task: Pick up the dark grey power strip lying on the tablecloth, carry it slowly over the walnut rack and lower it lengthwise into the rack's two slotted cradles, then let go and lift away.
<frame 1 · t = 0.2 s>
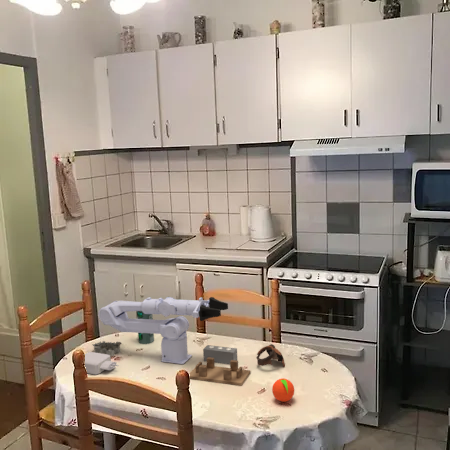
hand: (224, 309, 185), 21 cm above the table, tool horizontal, fingers open, 7 cm apart
charger: (100, 370, 189), on the table
power strip: (220, 361, 192), on the table
can: (146, 341, 214), on the table
brown open ring: (271, 365, 187), on the table
egg carton: (107, 353, 205), on the table
clementine: (284, 401, 161), on the table
rack: (219, 375, 180), on the table
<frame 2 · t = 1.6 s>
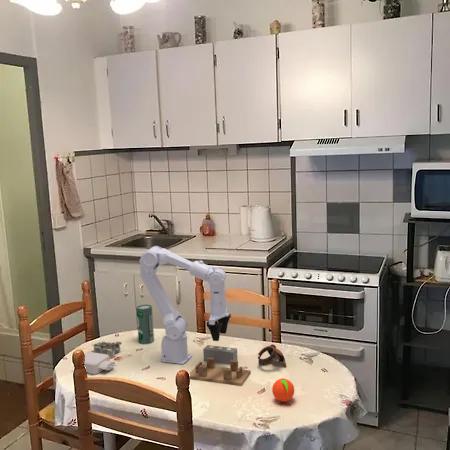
hand: (219, 336, 191), 9 cm above the table, tool pointing down, fingers open, 7 cm apart
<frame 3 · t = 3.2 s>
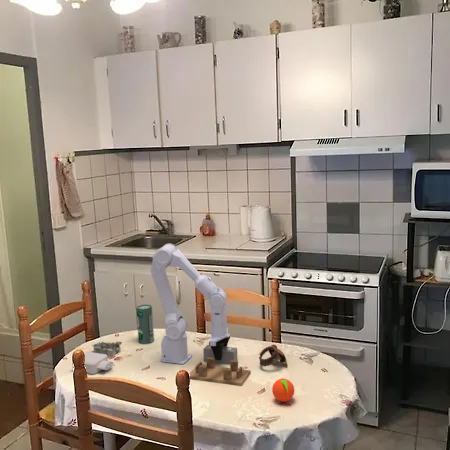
hand: (220, 357, 192), 1 cm above the table, tool pointing down, fingers closed on power strip, 4 cm apart
power strip: (220, 360, 192), on the table, touching gripper
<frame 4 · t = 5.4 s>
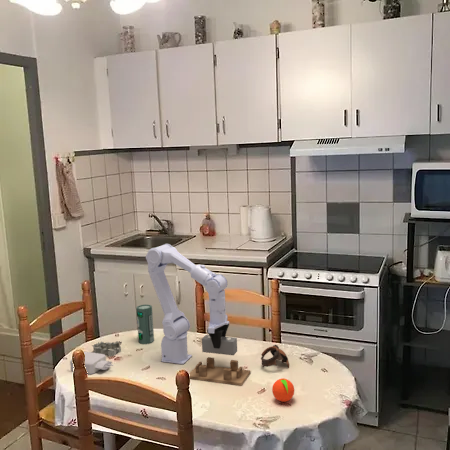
hand: (219, 345, 185), 8 cm above the table, tool pointing down, fingers closed on power strip, 4 cm apart
power strip: (219, 351, 185), point 6 cm above the table, touching gripper
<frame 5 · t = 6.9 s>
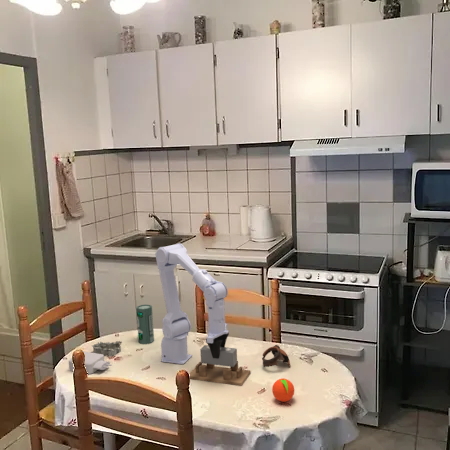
hand: (218, 355, 179), 8 cm above the table, tool pointing down, fingers closed on power strip, 4 cm apart
power strip: (219, 362, 179), point 5 cm above the table, touching gripper
when the fingers open (4 cm above the table, at t = 8.0 s): power strip stays where it is, resting on rack.
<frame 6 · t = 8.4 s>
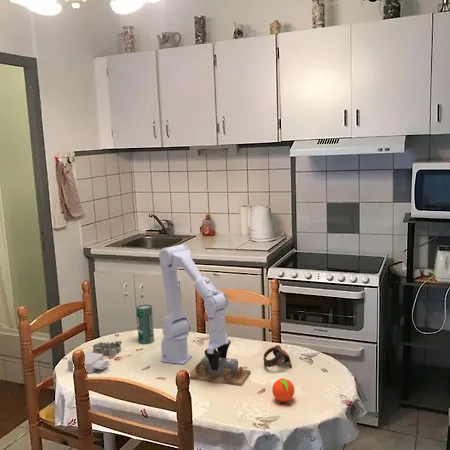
hand: (218, 365, 179), 4 cm above the table, tool pointing down, fingers open, 7 cm apart
power strip: (219, 373, 180), point 1 cm above the table, touching rack
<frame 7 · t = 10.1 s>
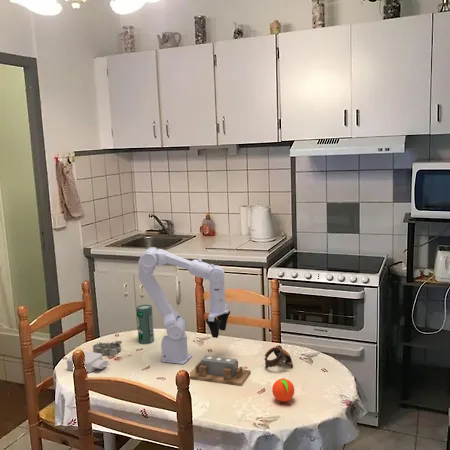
hand: (218, 333, 193), 10 cm above the table, tool pointing down, fingers open, 7 cm apart
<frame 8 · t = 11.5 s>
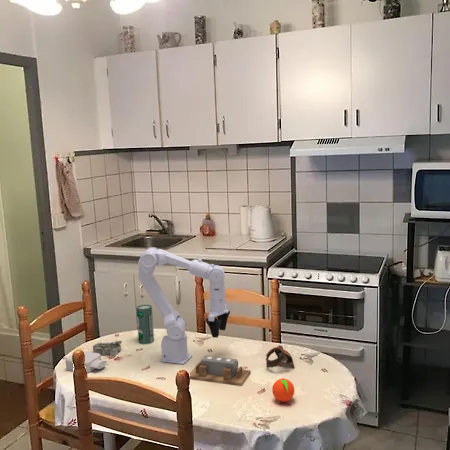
hand: (218, 333, 193), 10 cm above the table, tool pointing down, fingers open, 7 cm apart
at the end: power strip 0.2 cm off-centre on the rack, point 1.0 cm above the rack's base; power strip tilted 0°; the gripper is holding nothing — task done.
